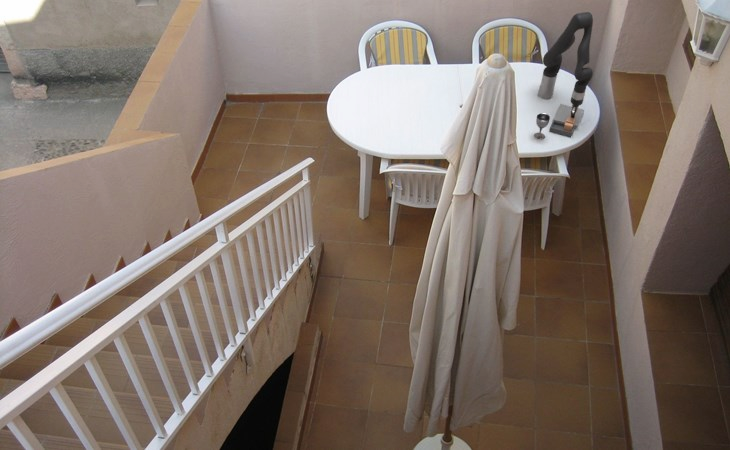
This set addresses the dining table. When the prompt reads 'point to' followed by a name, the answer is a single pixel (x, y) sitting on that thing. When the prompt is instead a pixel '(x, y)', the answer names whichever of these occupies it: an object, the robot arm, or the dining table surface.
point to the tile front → (568, 127)
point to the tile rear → (570, 120)
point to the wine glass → (541, 124)
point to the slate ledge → (568, 114)
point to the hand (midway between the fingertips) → (572, 118)
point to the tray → (560, 129)
